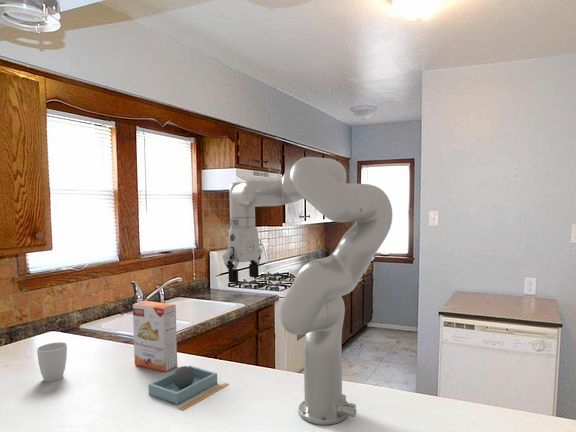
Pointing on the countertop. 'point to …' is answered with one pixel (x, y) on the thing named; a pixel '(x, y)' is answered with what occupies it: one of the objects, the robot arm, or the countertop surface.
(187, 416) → the countertop surface
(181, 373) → the ball
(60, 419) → the countertop surface
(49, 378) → the cup
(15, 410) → the countertop surface
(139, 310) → the cracker box
